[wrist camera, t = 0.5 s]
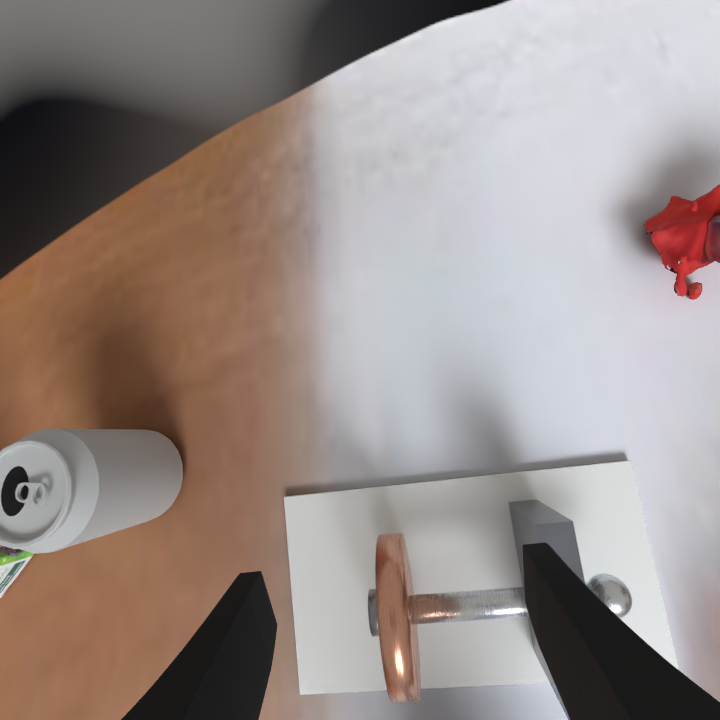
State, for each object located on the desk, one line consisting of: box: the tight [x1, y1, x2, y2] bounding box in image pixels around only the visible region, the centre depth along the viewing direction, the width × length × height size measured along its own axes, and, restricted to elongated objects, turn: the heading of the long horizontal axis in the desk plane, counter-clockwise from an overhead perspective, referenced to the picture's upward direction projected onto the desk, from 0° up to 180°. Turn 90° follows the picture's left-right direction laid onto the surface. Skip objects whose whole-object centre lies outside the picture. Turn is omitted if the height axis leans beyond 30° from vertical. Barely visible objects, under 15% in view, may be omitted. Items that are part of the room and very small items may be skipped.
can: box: [0, 429, 183, 554], centre depth 31 cm, size 8×8×12 cm
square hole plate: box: [508, 500, 585, 720], centre depth 27 cm, size 10×2×8 cm, turn 7°
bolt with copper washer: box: [368, 533, 632, 702], centre depth 26 cm, size 9×15×9 cm, turn 97°
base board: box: [284, 460, 679, 695], centre depth 32 cm, size 14×26×1 cm, turn 97°
